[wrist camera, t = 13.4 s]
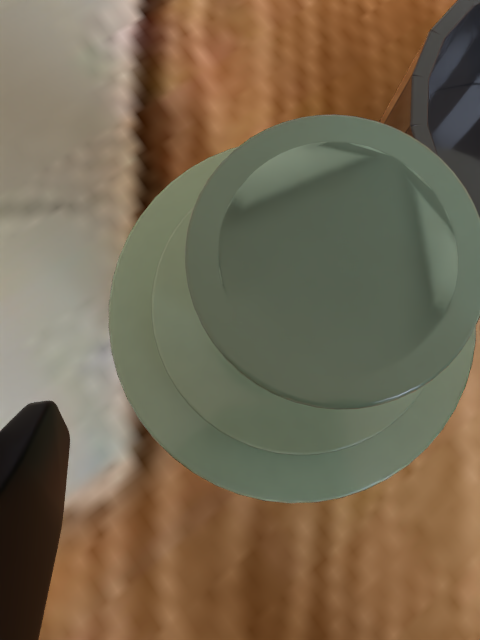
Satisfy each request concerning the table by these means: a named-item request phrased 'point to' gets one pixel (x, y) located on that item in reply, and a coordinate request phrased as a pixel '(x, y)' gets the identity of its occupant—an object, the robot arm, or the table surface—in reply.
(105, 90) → the table surface
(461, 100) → the cup
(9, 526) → the robot arm
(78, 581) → the table surface
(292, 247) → the bottle
